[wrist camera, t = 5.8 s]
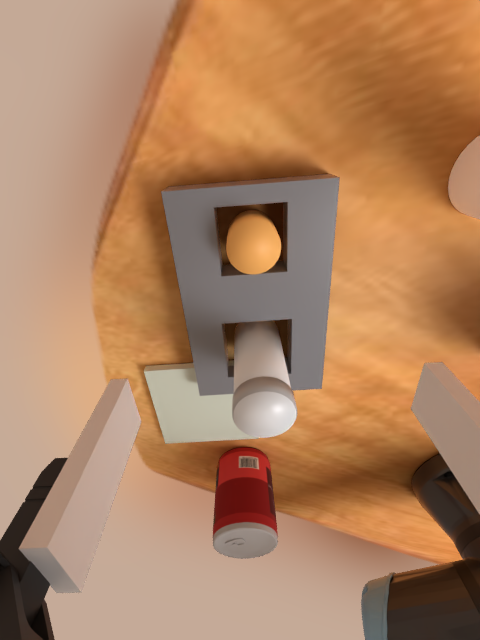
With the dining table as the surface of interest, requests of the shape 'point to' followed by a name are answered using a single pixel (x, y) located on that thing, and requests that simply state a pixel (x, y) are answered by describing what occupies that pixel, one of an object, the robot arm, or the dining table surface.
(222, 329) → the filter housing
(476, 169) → the cylindrical container
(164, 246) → the dining table surface
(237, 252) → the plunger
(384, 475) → the dining table surface
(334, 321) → the dining table surface
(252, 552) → the canned food
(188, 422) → the mat
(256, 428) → the cartridge
